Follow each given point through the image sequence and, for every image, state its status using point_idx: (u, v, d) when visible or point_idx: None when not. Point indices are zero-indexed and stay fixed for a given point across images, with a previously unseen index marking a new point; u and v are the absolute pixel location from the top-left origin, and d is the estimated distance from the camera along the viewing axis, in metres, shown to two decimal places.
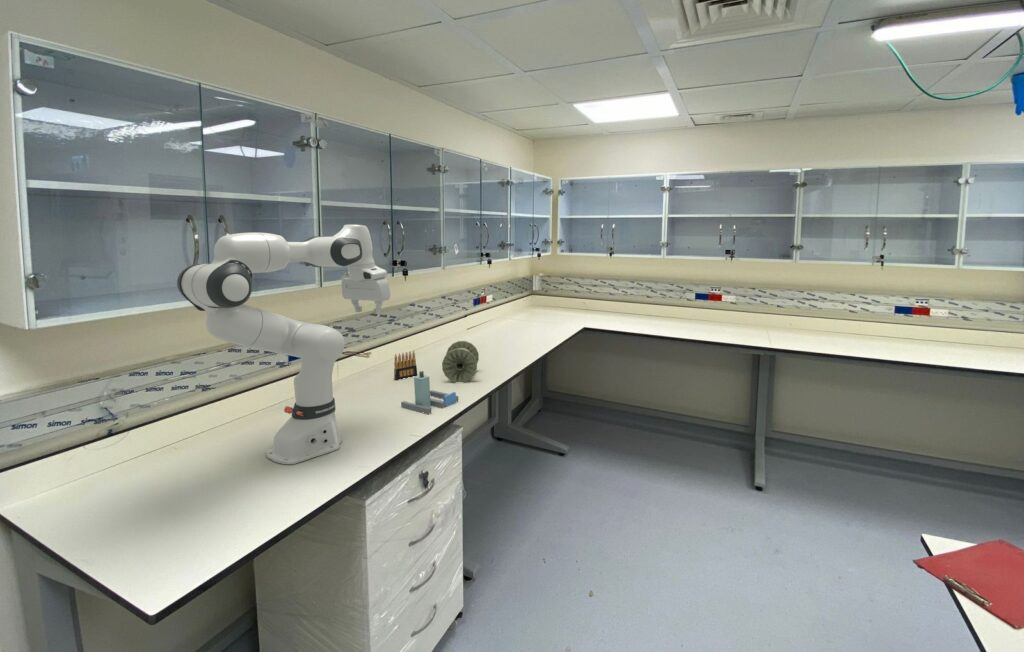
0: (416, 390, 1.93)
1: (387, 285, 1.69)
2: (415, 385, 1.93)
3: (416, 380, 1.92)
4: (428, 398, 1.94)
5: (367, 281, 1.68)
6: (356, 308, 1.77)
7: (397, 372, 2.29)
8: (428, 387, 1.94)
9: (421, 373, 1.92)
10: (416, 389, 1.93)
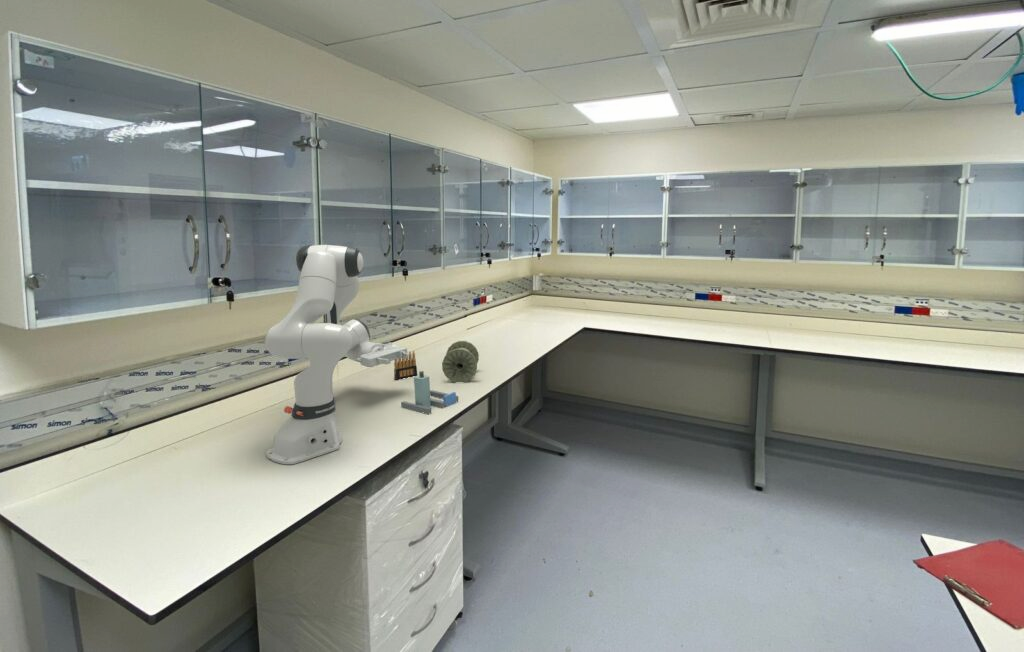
0: (416, 390, 1.93)
1: None
2: (415, 385, 1.93)
3: (416, 380, 1.92)
4: (428, 398, 1.94)
5: (387, 345, 2.09)
6: (386, 359, 1.96)
7: (397, 372, 2.29)
8: (428, 387, 1.94)
9: (421, 373, 1.92)
10: (416, 389, 1.93)
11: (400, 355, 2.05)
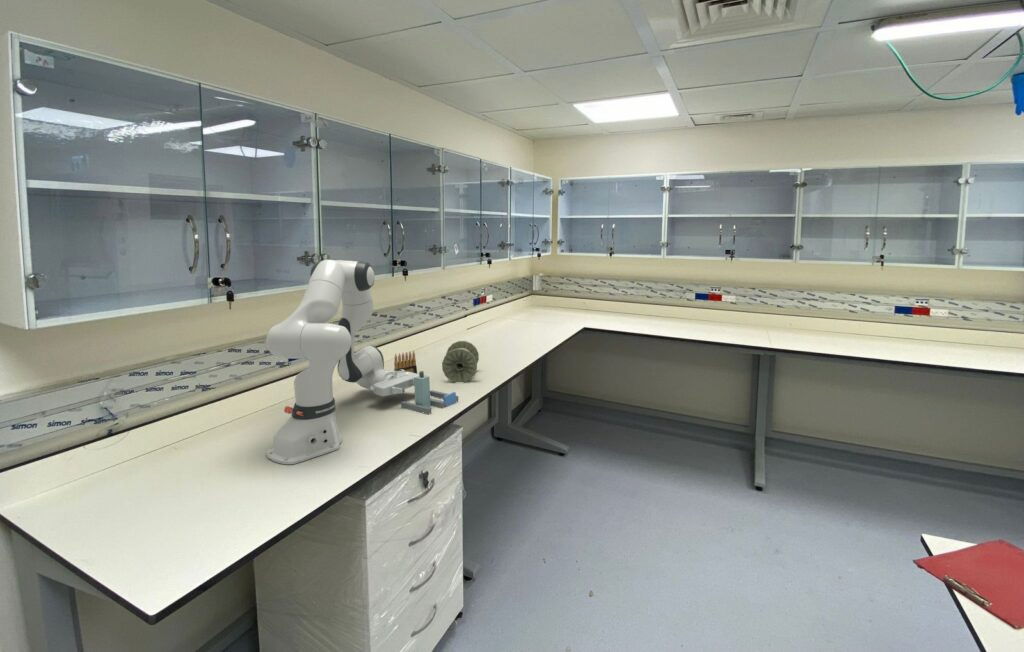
0: (416, 390, 1.93)
1: None
2: (415, 385, 1.93)
3: (416, 380, 1.92)
4: (428, 398, 1.94)
5: (400, 373, 2.07)
6: (400, 387, 1.94)
7: None
8: (428, 387, 1.94)
9: (421, 373, 1.92)
10: (416, 389, 1.93)
11: (413, 383, 2.04)
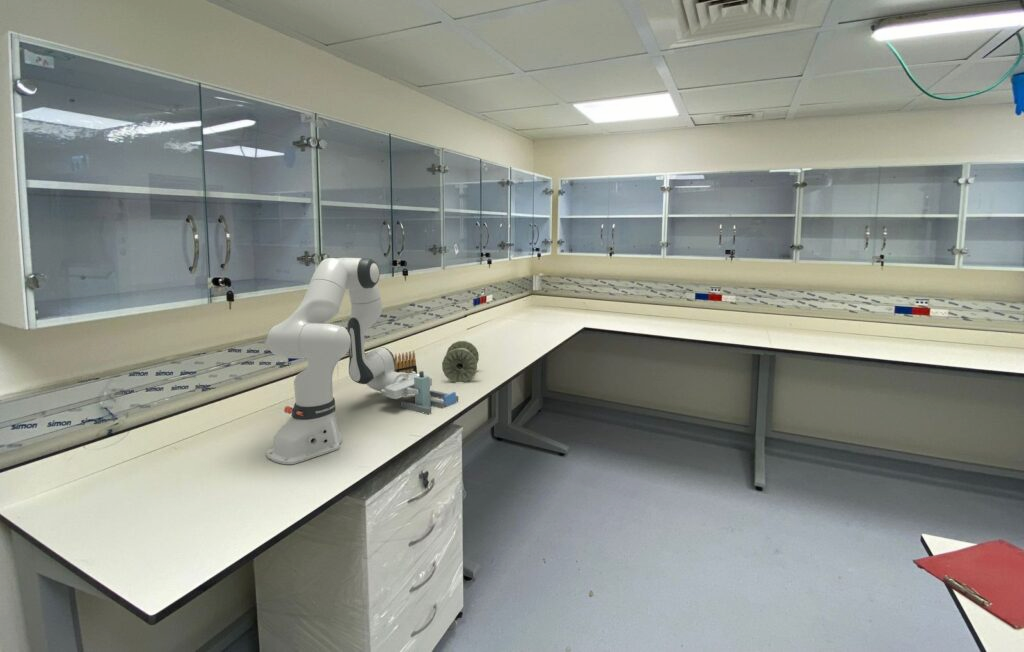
0: None
1: None
2: (415, 385, 1.93)
3: (416, 380, 1.92)
4: (428, 398, 1.94)
5: (411, 374, 2.04)
6: (416, 388, 1.92)
7: None
8: (428, 387, 1.94)
9: (421, 373, 1.92)
10: None
11: None
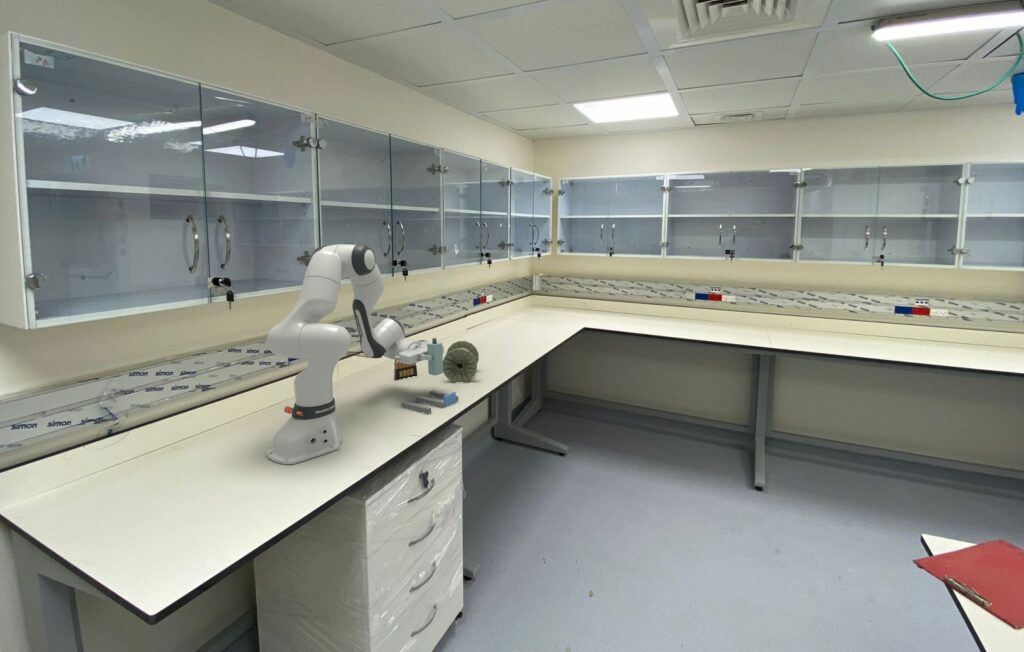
0: None
1: None
2: (428, 351, 1.97)
3: (429, 346, 1.96)
4: (440, 364, 1.99)
5: (424, 343, 2.08)
6: (429, 355, 1.96)
7: (397, 372, 2.29)
8: (441, 353, 1.98)
9: (434, 340, 1.96)
10: None
11: None
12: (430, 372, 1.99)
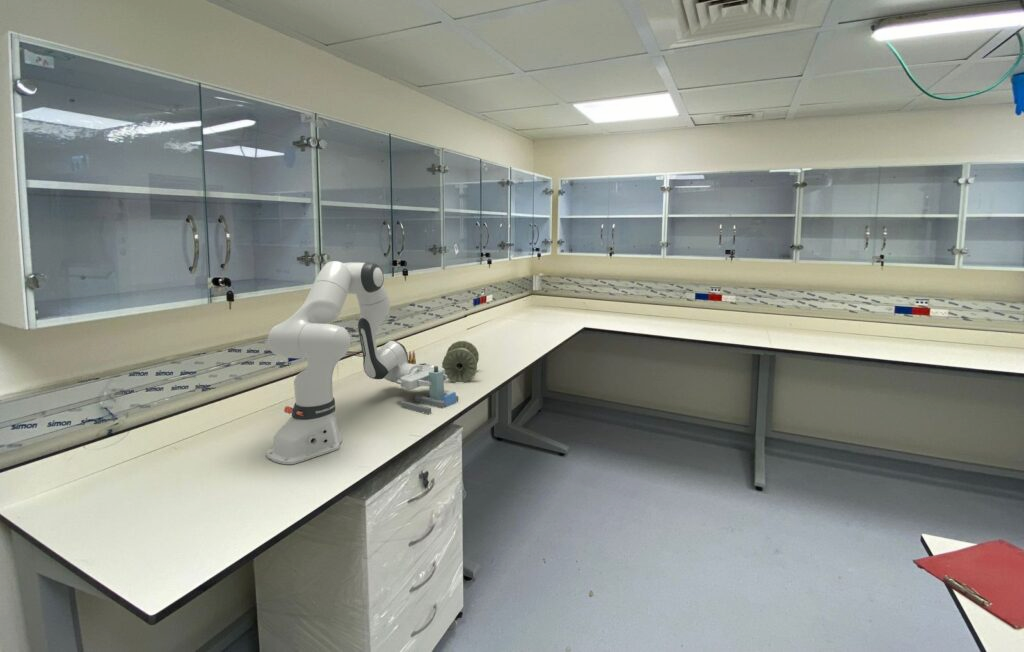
0: (431, 384, 2.00)
1: None
2: (430, 379, 1.99)
3: (431, 375, 1.99)
4: (442, 392, 2.01)
5: (425, 366, 2.10)
6: (427, 381, 1.97)
7: None
8: (442, 381, 2.00)
9: (436, 368, 1.99)
10: (431, 383, 1.99)
11: None
12: None
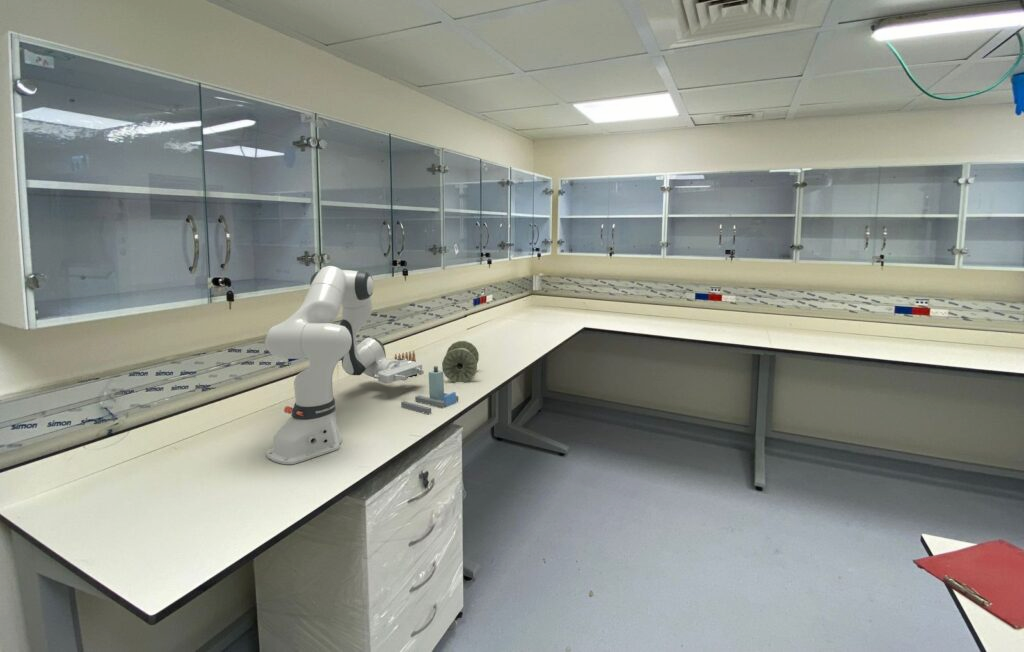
0: (430, 384, 1.99)
1: None
2: (429, 380, 1.99)
3: (431, 375, 1.99)
4: (442, 392, 2.01)
5: (402, 361, 2.17)
6: (403, 375, 2.04)
7: None
8: (442, 382, 2.00)
9: (435, 368, 1.99)
10: (430, 384, 1.99)
11: (415, 371, 2.14)
12: None
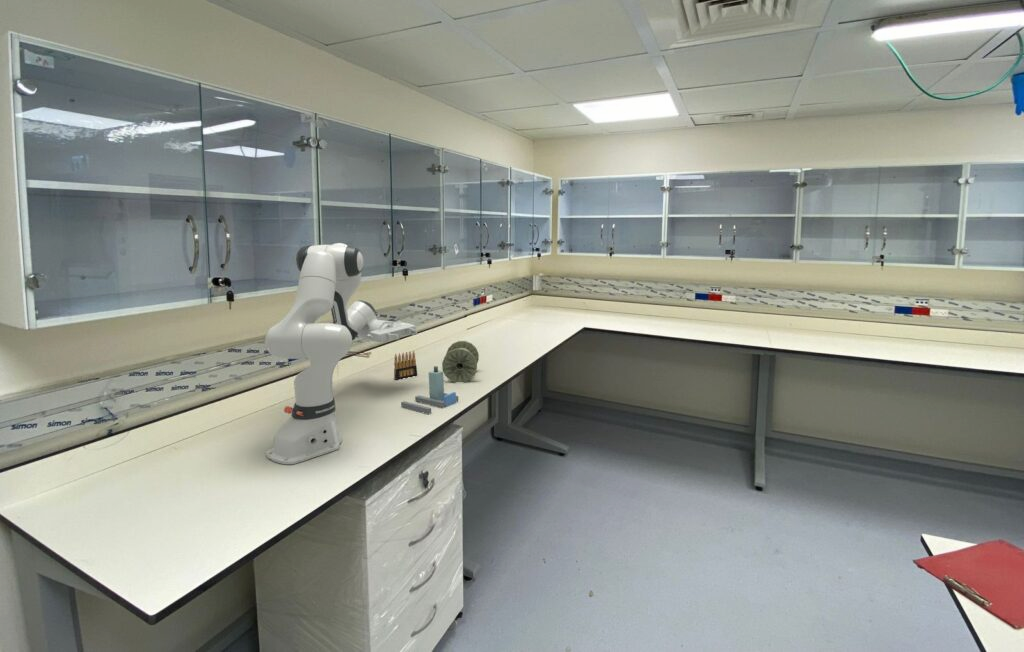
0: (430, 384, 1.99)
1: None
2: (430, 380, 1.99)
3: (431, 375, 1.99)
4: (442, 392, 2.01)
5: (396, 323, 2.15)
6: (396, 334, 2.02)
7: (397, 372, 2.29)
8: (442, 382, 2.00)
9: (435, 368, 1.99)
10: (430, 383, 1.99)
11: (409, 332, 2.12)
12: None
